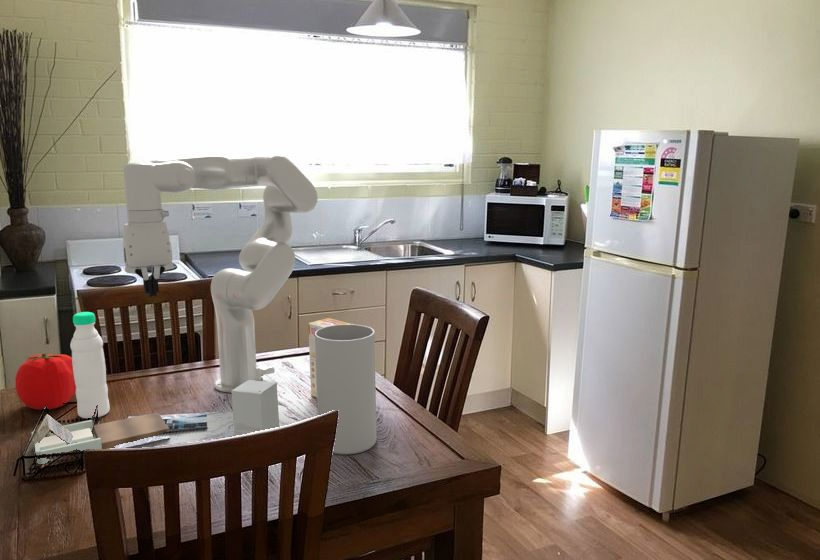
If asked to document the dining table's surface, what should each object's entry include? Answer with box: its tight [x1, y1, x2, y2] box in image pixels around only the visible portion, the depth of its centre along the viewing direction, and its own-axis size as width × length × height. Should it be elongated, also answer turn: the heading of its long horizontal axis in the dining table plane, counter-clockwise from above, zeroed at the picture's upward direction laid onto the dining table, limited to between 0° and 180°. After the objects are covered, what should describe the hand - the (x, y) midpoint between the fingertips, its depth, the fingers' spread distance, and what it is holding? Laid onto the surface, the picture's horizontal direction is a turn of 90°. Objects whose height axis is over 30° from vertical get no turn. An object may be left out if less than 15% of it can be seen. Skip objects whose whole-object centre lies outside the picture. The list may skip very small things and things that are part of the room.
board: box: [93, 412, 170, 449], centre depth 155 cm, size 14×11×2 cm
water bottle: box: [69, 311, 111, 420], centre depth 166 cm, size 7×7×25 cm
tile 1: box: [39, 435, 67, 451], centre depth 147 cm, size 5×5×2 cm
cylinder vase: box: [315, 323, 378, 455], centre depth 149 cm, size 12×12×25 cm
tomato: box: [14, 352, 76, 411], centre depth 173 cm, size 16×14×14 cm
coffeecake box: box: [307, 317, 350, 398], centre depth 175 cm, size 15×7×20 cm, turn 47°
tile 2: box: [71, 428, 94, 443], centre depth 150 cm, size 5×5×2 cm
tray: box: [31, 419, 102, 464], centre depth 148 cm, size 12×12×4 cm
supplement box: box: [231, 380, 280, 437], centre depth 152 cm, size 7×7×13 cm
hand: (151, 295), depth 163 cm, fingers closed
